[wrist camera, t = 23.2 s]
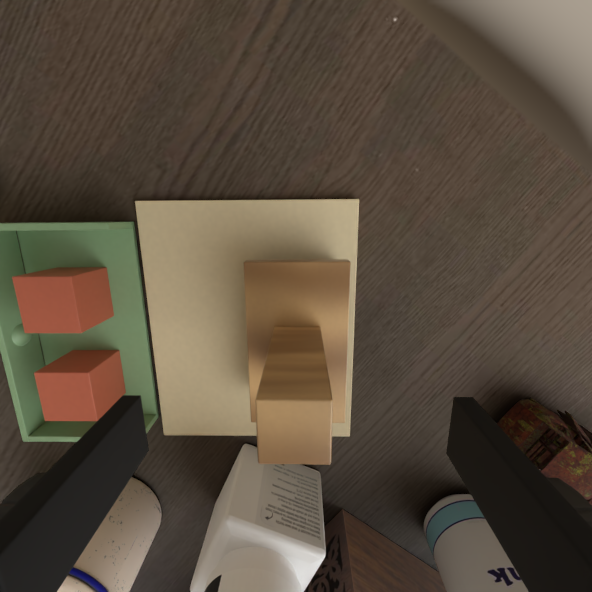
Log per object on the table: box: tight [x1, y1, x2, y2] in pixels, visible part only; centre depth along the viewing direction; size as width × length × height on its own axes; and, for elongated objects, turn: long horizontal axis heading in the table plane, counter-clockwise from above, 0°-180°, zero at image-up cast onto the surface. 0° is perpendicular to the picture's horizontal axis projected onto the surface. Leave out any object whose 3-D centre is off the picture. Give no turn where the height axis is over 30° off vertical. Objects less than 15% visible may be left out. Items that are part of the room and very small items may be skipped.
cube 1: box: [34, 350, 126, 421], centre depth 25 cm, size 4×4×4 cm
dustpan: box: [0, 222, 159, 442], centre depth 25 cm, size 16×17×3 cm
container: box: [190, 444, 326, 592], centre depth 24 cm, size 8×8×13 cm
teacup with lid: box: [57, 477, 162, 592], centre depth 26 cm, size 12×9×12 cm
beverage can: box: [424, 494, 528, 592], centre depth 25 cm, size 7×7×12 cm
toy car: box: [497, 398, 592, 505], centre depth 26 cm, size 12×7×5 cm, turn 57°
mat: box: [135, 199, 359, 436], centre depth 26 cm, size 20×16×1 cm
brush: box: [243, 259, 351, 465], centre depth 19 cm, size 12×7×13 cm, turn 0°
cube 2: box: [12, 267, 114, 333], centre depth 23 cm, size 4×4×4 cm
